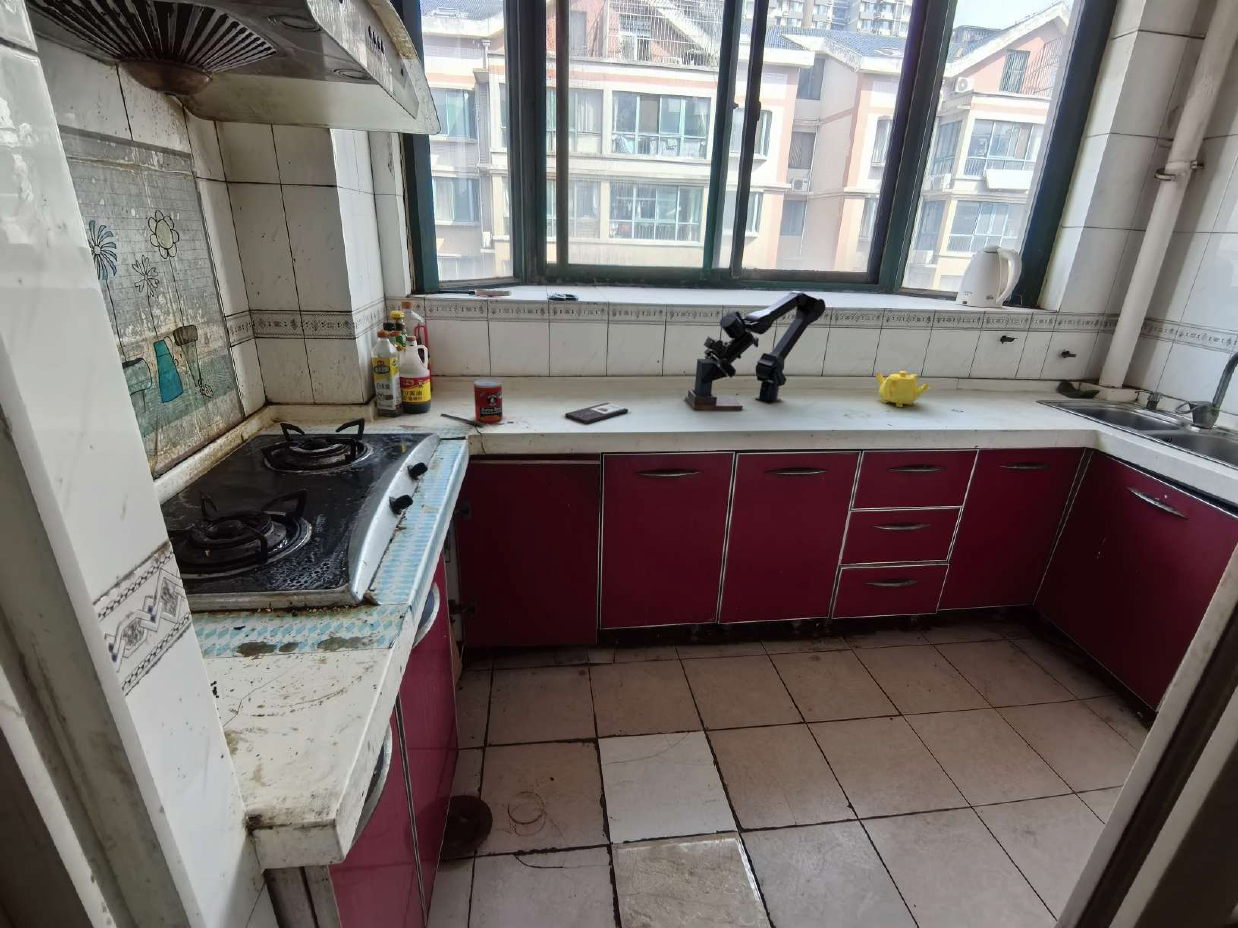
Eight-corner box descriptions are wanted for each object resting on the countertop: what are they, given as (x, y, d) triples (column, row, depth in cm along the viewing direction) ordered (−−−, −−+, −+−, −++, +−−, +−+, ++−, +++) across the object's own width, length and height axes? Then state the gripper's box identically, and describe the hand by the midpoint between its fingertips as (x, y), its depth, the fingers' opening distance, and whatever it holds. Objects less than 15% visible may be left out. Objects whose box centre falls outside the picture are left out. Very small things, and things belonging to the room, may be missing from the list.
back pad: (705, 397, 197) (709, 358, 192) (710, 402, 192) (714, 363, 187) (693, 397, 197) (697, 358, 192) (698, 402, 191) (702, 362, 186)
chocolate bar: (565, 413, 176) (607, 402, 188) (565, 416, 176) (606, 405, 189) (586, 420, 170) (628, 409, 183) (586, 423, 171) (627, 412, 183)
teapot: (937, 407, 205) (945, 375, 201) (908, 413, 196) (916, 381, 191) (885, 393, 220) (892, 363, 216) (856, 398, 211) (862, 367, 206)
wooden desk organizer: (730, 400, 202) (732, 388, 200) (742, 410, 191) (743, 398, 189) (685, 399, 200) (686, 388, 198) (694, 410, 189) (695, 398, 187)
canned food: (479, 424, 166) (478, 386, 162) (472, 416, 173) (470, 379, 169) (506, 421, 170) (505, 384, 165) (498, 414, 176) (496, 377, 172)
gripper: (712, 323, 195) (677, 356, 197) (730, 333, 177) (691, 369, 180) (733, 347, 199) (698, 379, 201) (751, 360, 182) (713, 394, 184)
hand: (699, 380), depth 192 cm, fingers closed on back pad, 6 cm apart
